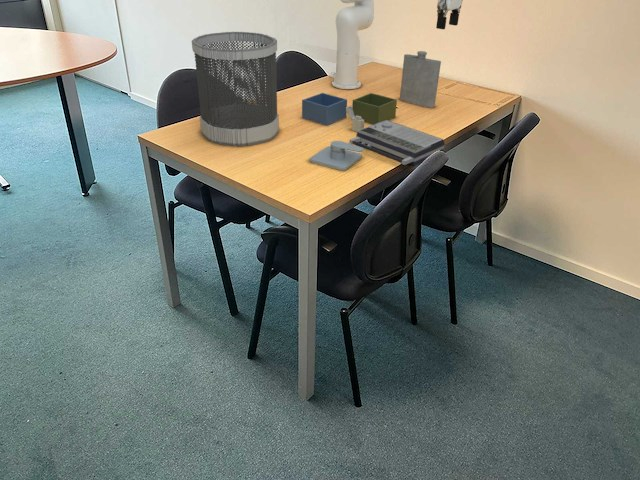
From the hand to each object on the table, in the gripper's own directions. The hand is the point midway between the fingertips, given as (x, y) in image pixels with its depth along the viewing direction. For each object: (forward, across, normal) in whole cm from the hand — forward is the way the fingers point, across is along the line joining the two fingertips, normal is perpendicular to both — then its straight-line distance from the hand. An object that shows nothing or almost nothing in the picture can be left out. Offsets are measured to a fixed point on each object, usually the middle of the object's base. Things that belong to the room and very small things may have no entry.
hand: (446, 26), depth 188 cm
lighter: (+31, +39, -11) cm, 51 cm away
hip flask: (+31, -2, -10) cm, 32 cm away
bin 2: (+31, +24, -13) cm, 41 cm away
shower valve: (+31, +63, 0) cm, 70 cm away
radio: (+31, +44, +9) cm, 54 cm away
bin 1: (+30, +36, -27) cm, 54 cm away
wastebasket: (+31, +66, -40) cm, 83 cm away
